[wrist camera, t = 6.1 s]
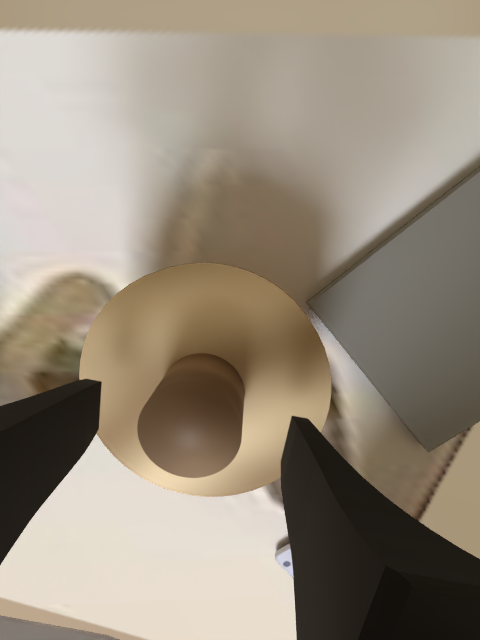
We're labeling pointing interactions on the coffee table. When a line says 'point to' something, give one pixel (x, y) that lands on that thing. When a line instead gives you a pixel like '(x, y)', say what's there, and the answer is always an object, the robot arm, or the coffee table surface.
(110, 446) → the lid
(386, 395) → the mat
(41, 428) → the robot arm
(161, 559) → the coffee table surface
